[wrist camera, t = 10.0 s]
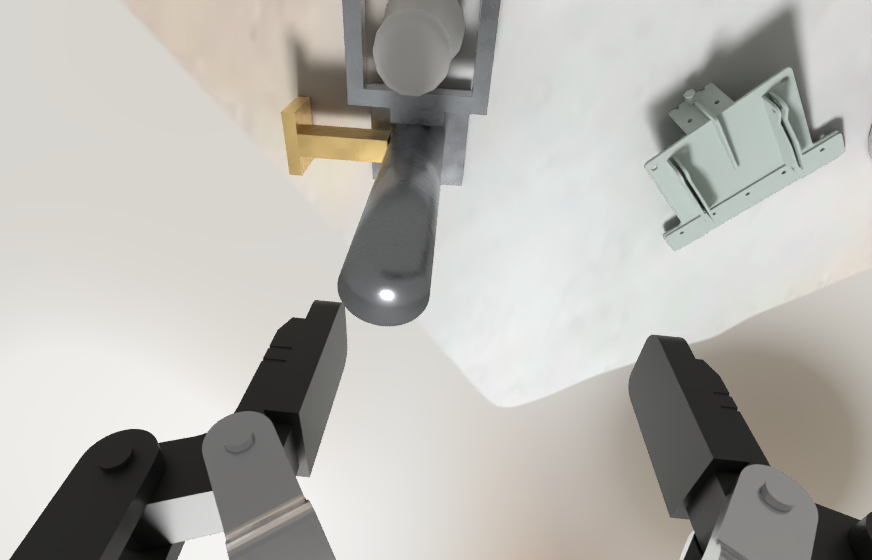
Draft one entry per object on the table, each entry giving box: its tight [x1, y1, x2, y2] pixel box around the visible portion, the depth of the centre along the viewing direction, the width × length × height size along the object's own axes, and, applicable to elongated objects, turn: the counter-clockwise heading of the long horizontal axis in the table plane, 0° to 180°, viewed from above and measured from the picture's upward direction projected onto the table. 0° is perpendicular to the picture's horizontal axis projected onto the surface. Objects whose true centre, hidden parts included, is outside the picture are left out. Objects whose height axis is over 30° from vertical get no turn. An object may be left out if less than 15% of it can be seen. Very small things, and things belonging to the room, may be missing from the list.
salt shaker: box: [373, 0, 465, 96], centre depth 29 cm, size 6×6×13 cm
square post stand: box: [281, 0, 500, 326], centre depth 28 cm, size 15×18×22 cm
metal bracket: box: [644, 67, 845, 251], centre depth 39 cm, size 14×6×15 cm
